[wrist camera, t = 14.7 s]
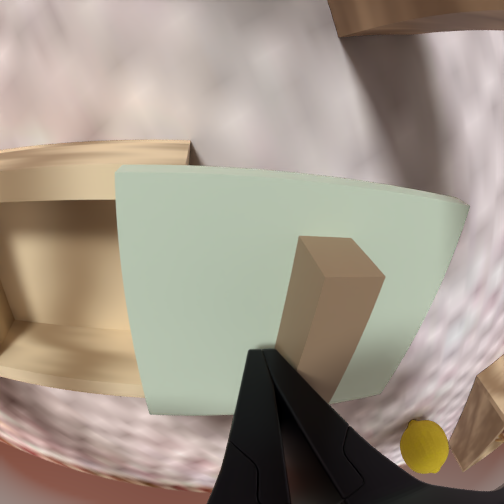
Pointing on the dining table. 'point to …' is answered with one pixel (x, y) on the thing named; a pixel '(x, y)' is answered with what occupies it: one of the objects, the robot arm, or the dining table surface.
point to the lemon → (424, 446)
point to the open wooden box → (68, 264)
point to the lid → (274, 278)
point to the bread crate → (480, 418)
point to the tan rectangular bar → (414, 16)
